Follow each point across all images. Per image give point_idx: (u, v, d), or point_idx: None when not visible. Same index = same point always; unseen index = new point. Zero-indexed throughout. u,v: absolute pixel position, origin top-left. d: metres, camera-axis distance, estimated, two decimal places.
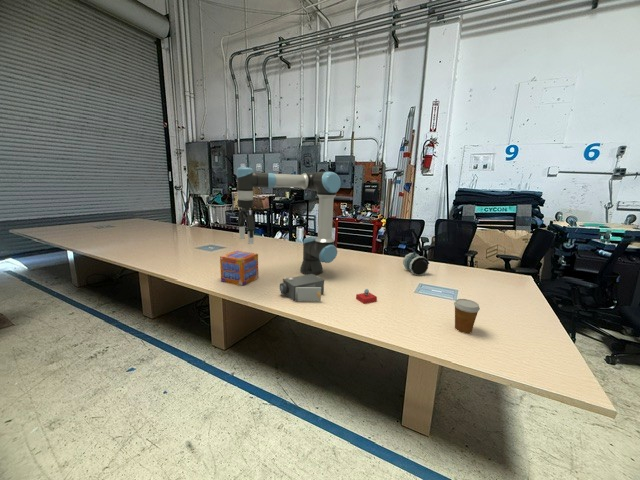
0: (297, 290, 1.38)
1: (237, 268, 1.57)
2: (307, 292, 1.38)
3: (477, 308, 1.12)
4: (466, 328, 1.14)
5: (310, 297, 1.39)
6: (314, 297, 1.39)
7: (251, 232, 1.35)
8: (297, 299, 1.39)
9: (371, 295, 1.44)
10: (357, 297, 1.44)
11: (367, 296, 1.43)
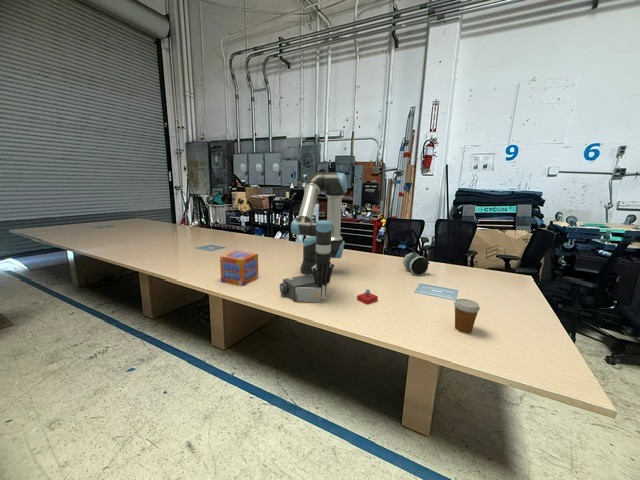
0: (297, 290, 1.38)
1: (237, 268, 1.57)
2: (307, 292, 1.38)
3: (477, 308, 1.12)
4: (466, 328, 1.14)
5: (310, 297, 1.39)
6: (314, 297, 1.39)
7: (318, 286, 1.40)
8: (297, 299, 1.39)
9: (372, 295, 1.44)
10: (358, 298, 1.43)
11: (368, 296, 1.42)
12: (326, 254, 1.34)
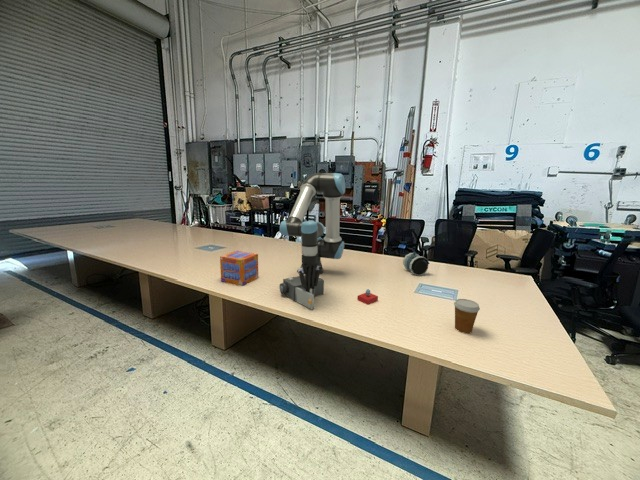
0: (296, 290, 1.38)
1: (237, 268, 1.57)
2: (302, 295, 1.34)
3: (477, 308, 1.12)
4: (466, 328, 1.14)
5: (304, 301, 1.34)
6: (307, 303, 1.32)
7: (306, 290, 1.35)
8: (296, 299, 1.39)
9: (372, 295, 1.44)
10: (359, 298, 1.43)
11: (369, 296, 1.42)
12: (312, 256, 1.30)
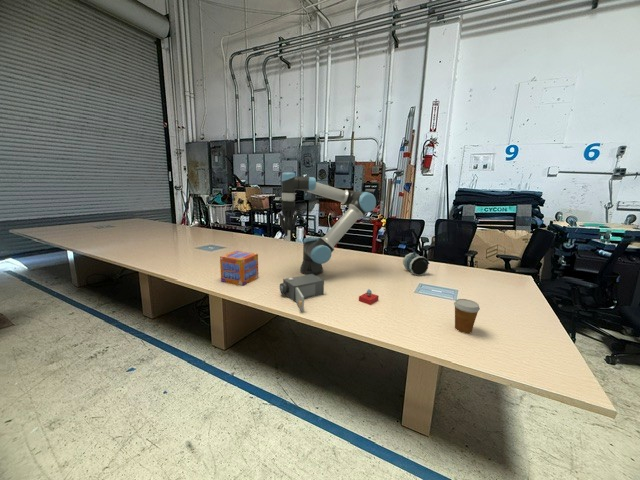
0: (295, 290, 1.38)
1: (237, 268, 1.57)
2: (298, 296, 1.33)
3: (477, 308, 1.12)
4: (466, 328, 1.14)
5: (298, 302, 1.33)
6: None
7: (285, 231, 1.61)
8: (295, 299, 1.39)
9: (372, 295, 1.45)
10: (360, 299, 1.42)
11: (370, 296, 1.42)
12: (290, 201, 1.56)
